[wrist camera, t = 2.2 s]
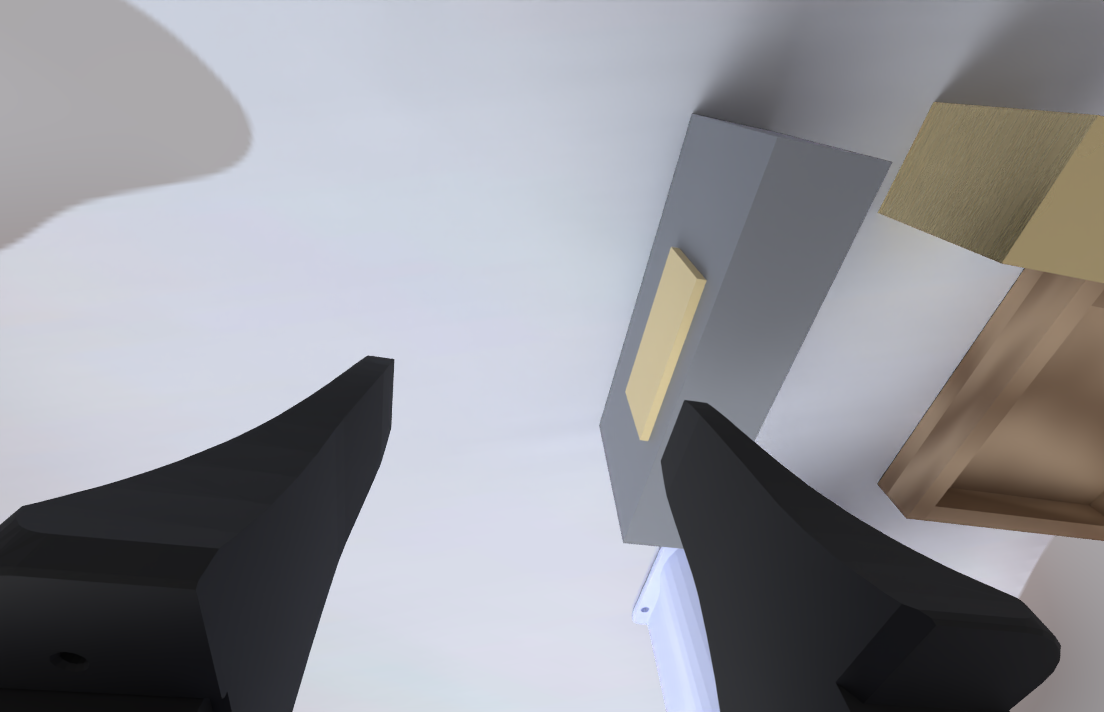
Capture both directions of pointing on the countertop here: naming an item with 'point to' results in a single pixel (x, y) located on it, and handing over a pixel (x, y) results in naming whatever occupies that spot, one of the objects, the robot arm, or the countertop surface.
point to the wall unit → (726, 295)
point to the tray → (1017, 420)
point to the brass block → (1008, 186)
